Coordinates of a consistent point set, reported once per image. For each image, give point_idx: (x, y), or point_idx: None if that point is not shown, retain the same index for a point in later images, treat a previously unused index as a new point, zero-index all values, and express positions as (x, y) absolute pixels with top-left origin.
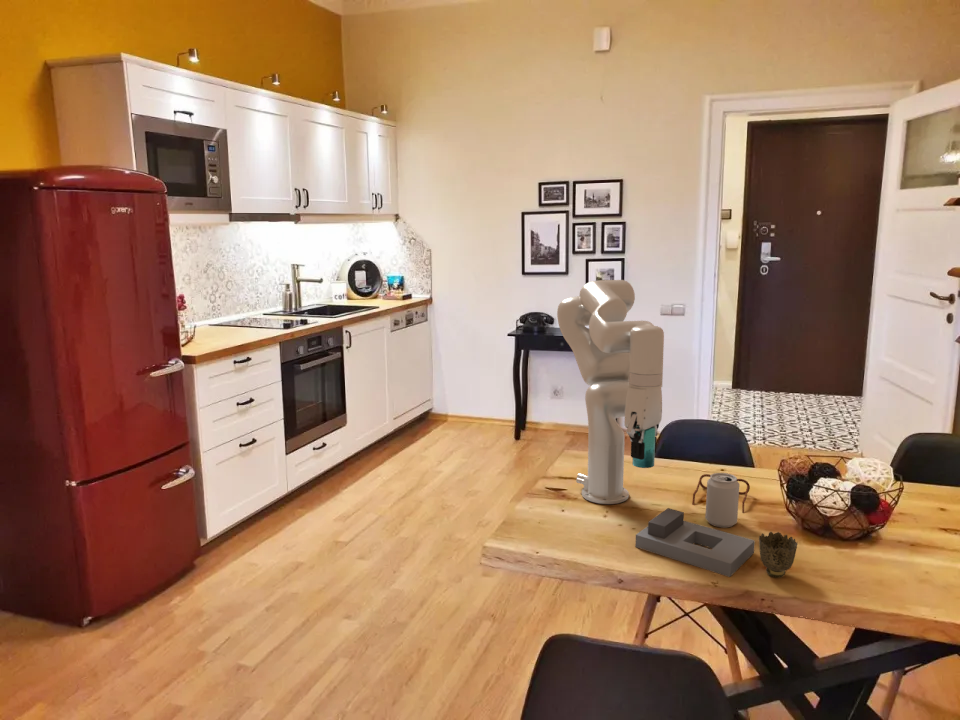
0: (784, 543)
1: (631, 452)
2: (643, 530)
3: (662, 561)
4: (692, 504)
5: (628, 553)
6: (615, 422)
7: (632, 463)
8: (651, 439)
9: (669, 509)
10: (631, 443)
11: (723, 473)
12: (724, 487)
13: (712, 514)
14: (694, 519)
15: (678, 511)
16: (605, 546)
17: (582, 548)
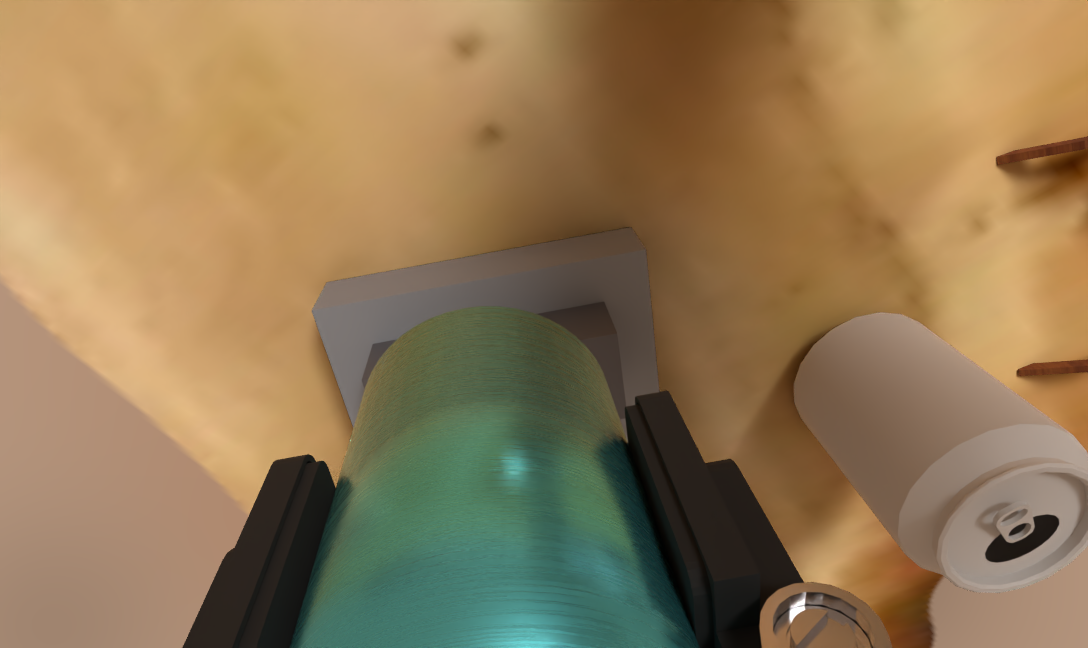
0: None
1: (258, 509)
2: (388, 303)
3: (326, 433)
4: (999, 158)
5: (246, 303)
6: None
7: (401, 338)
8: None
9: (604, 350)
10: (204, 632)
11: None
12: (913, 552)
13: (816, 401)
14: (814, 276)
15: (616, 395)
16: (190, 179)
17: (48, 109)
